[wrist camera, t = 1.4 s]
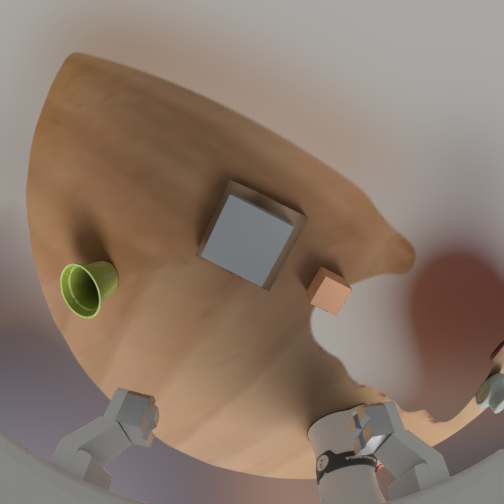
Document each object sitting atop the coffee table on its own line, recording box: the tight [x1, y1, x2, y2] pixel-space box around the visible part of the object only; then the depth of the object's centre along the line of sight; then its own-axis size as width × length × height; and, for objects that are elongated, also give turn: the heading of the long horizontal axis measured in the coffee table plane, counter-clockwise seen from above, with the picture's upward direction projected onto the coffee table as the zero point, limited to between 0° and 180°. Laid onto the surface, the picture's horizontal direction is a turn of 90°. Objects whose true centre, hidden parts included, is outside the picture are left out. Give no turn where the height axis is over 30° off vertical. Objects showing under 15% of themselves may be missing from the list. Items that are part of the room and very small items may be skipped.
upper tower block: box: [201, 194, 294, 287], centre depth 36 cm, size 9×9×4 cm
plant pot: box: [60, 261, 118, 318], centre depth 41 cm, size 9×9×9 cm
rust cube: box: [307, 267, 352, 315], centre depth 39 cm, size 4×4×5 cm
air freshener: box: [476, 373, 504, 413], centre depth 39 cm, size 11×8×10 cm
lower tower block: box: [196, 180, 308, 291], centre depth 40 cm, size 12×12×4 cm
